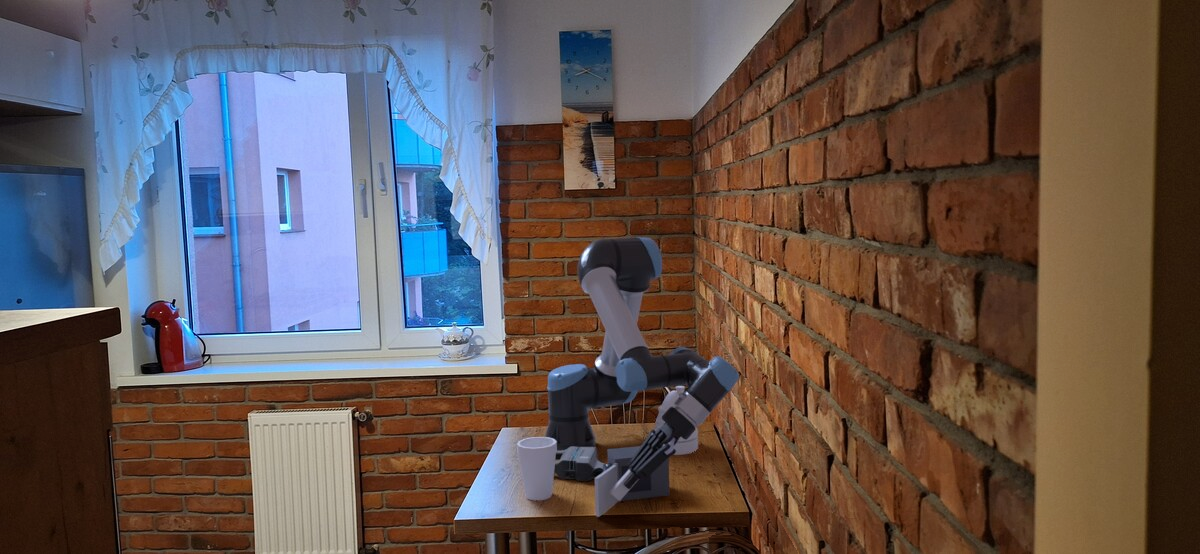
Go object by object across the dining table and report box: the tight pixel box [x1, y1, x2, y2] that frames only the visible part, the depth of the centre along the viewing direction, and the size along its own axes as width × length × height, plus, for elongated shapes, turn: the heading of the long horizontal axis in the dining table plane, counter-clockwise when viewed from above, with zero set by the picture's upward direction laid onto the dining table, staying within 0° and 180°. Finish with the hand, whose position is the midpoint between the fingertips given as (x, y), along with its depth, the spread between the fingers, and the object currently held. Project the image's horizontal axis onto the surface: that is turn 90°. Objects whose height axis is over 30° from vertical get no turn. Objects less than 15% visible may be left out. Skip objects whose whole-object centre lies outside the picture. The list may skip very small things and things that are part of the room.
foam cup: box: [516, 436, 557, 501], centre depth 175 cm, size 10×9×13 cm
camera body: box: [603, 445, 670, 502], centre depth 174 cm, size 8×15×11 cm, turn 102°
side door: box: [594, 463, 620, 518], centre depth 164 cm, size 1×10×9 cm, turn 153°
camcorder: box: [554, 446, 605, 482], centre depth 190 cm, size 16×20×5 cm
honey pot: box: [653, 385, 699, 456], centre depth 209 cm, size 13×13×18 cm
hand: (614, 496), depth 162 cm, fingers closed
